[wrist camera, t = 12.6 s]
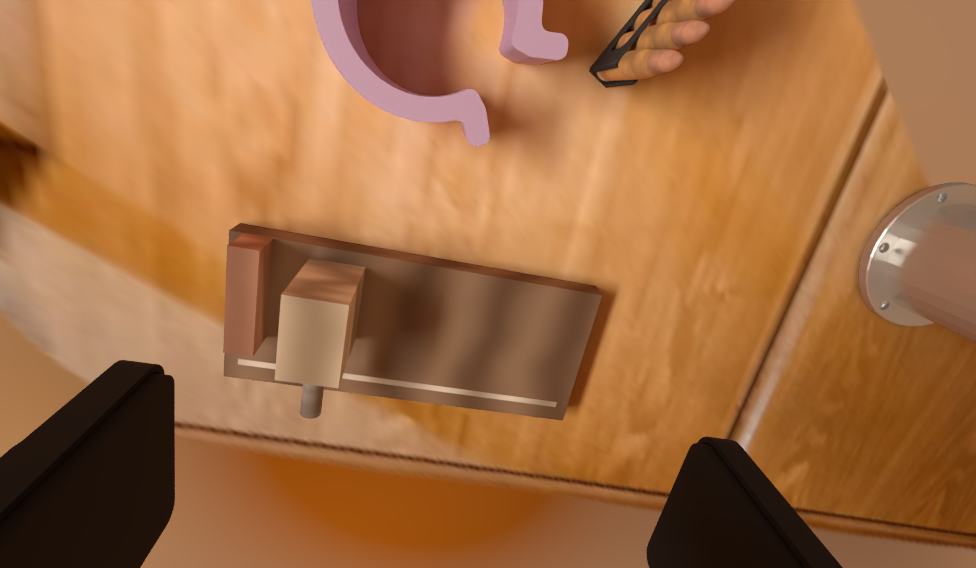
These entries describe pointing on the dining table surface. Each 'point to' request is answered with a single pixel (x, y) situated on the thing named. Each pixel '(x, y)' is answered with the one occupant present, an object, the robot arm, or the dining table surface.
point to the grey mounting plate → (418, 324)
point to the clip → (352, 60)
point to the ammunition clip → (655, 39)
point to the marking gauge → (318, 328)
